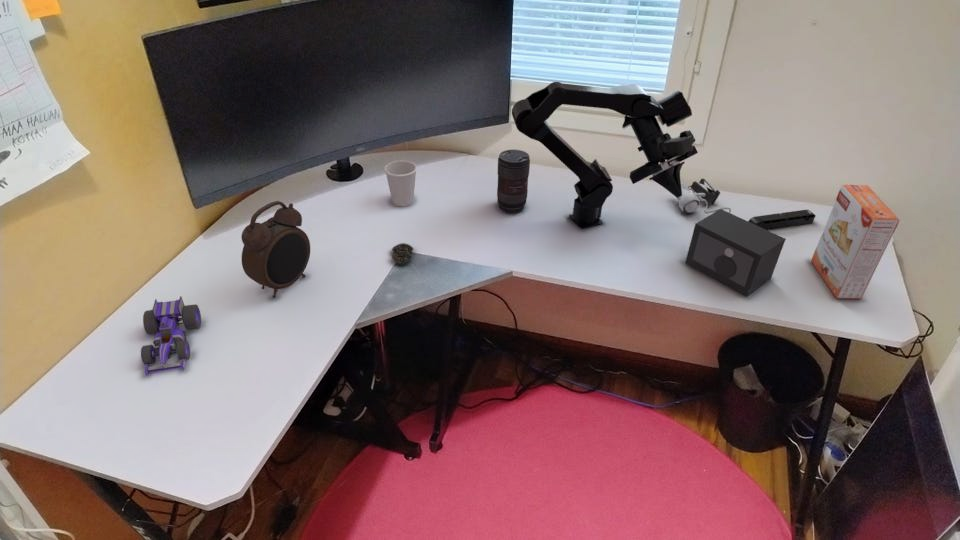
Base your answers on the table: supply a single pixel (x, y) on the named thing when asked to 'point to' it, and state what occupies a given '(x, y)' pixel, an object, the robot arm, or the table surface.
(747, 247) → the speaker
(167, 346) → the toy race car
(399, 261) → the corroded twin loop
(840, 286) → the cracker box
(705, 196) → the clip-on lamp
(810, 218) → the tablet stand
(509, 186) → the camera lens
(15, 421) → the table surface
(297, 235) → the alarm clock
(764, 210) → the table surface
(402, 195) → the dixie cup
